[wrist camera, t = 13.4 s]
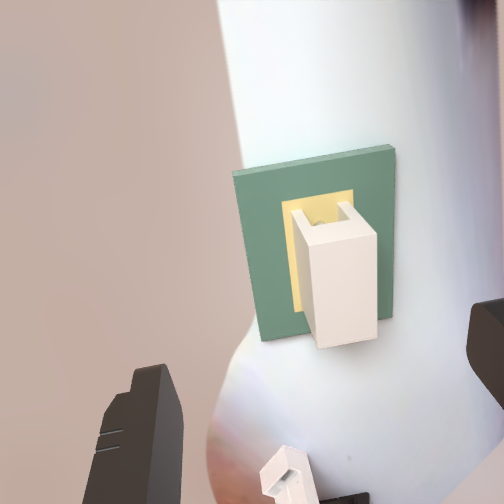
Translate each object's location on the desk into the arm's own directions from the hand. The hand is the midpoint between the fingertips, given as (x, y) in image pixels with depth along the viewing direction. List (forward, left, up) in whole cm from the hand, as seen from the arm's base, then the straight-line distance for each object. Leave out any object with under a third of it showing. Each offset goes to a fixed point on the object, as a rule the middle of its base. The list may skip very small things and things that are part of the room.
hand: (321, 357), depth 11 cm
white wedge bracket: (+43, -1, -28) cm, 51 cm away
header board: (+12, +6, -28) cm, 31 cm away
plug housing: (+12, +6, -26) cm, 29 cm away
